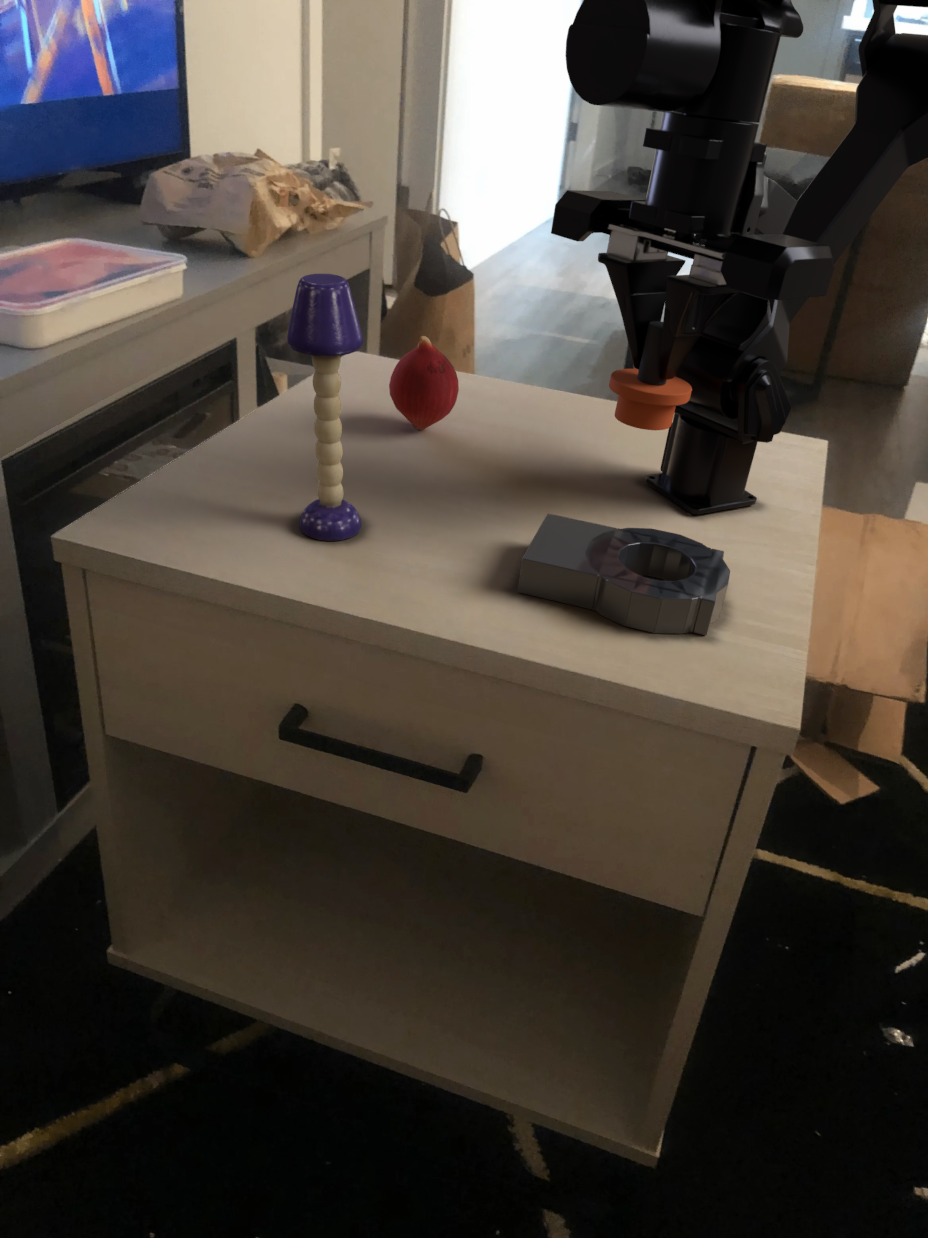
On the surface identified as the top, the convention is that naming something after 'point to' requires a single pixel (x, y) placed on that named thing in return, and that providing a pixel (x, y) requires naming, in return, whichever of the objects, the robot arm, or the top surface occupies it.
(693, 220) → the robot arm
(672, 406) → the stopper
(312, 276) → the toy lamp
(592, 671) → the top surface
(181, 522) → the top surface
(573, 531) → the plate
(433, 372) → the onion
